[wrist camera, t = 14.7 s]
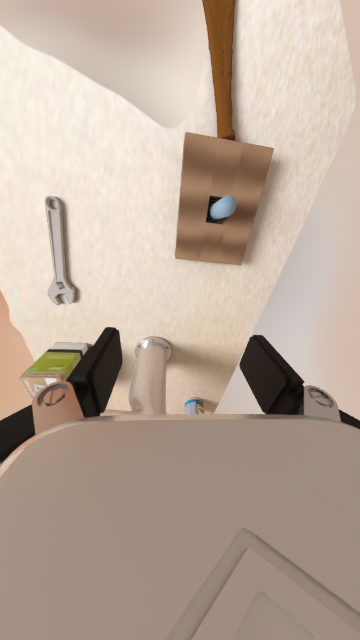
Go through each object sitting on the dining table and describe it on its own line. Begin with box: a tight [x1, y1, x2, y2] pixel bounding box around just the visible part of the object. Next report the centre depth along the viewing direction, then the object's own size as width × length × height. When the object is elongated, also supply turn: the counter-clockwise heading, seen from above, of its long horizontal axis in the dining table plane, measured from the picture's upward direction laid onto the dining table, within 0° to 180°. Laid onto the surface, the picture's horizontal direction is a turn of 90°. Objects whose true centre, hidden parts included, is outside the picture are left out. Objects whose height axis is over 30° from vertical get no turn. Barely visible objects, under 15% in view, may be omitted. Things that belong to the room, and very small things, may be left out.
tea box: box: [20, 342, 88, 399], centre depth 47 cm, size 15×10×15 cm
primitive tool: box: [202, 0, 235, 141], centre depth 24 cm, size 19×6×4 cm, turn 13°
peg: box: [207, 195, 236, 221], centre depth 30 cm, size 3×3×10 cm
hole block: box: [175, 132, 274, 265], centre depth 33 cm, size 20×16×4 cm
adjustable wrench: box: [45, 196, 77, 305], centre depth 37 cm, size 25×6×2 cm, turn 159°
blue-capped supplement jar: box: [185, 398, 204, 414], centre depth 62 cm, size 8×8×20 cm
